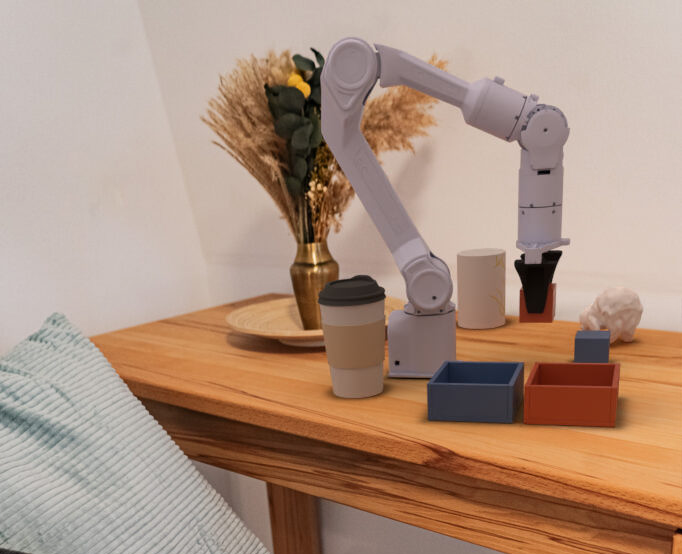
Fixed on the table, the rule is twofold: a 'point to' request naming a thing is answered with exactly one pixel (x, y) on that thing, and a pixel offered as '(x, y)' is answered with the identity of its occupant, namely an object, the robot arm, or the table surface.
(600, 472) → the table surface
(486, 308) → the cup
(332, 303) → the coffee cup
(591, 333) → the blue block
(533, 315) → the terracotta block
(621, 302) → the white animal figurine
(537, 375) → the terracotta bin
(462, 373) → the blue bin
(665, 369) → the table surface
